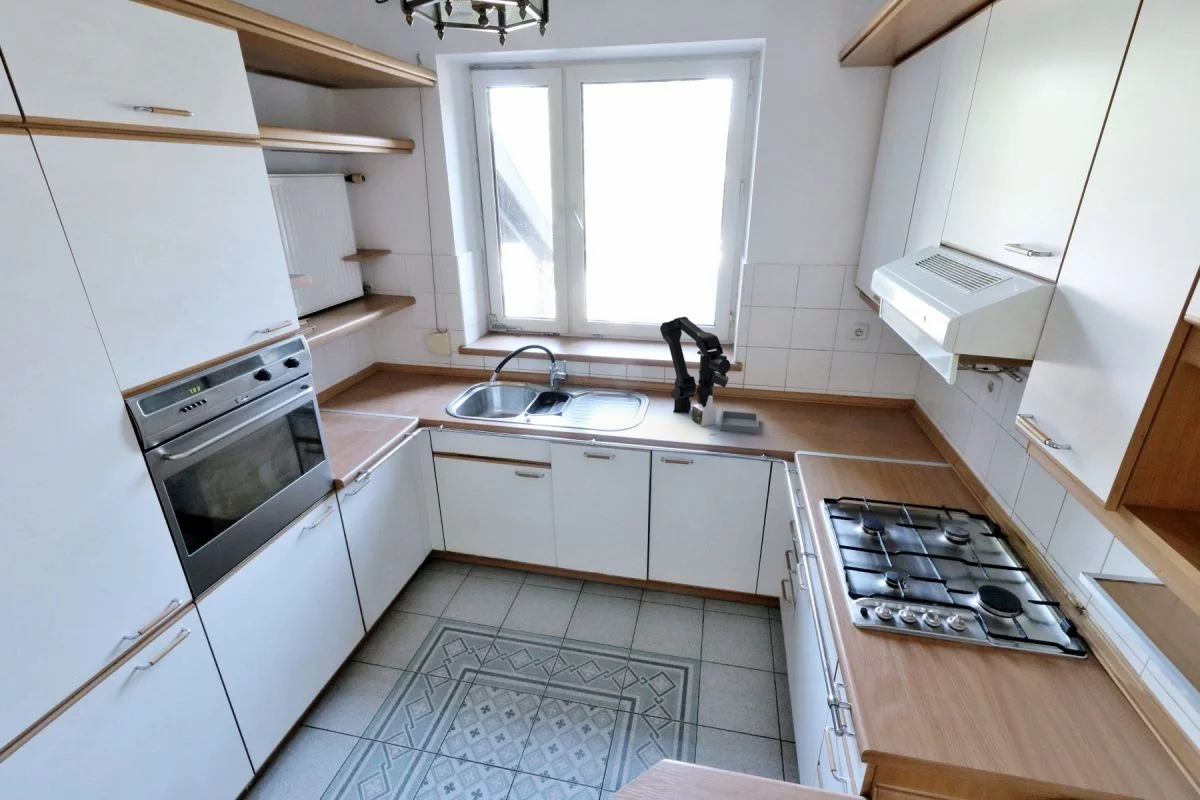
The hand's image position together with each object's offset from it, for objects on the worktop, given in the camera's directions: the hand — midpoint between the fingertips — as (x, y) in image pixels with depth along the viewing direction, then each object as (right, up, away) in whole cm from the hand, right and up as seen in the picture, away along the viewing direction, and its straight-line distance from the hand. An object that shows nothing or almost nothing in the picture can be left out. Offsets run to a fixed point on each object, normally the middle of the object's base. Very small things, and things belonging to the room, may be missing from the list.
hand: (704, 404), depth 226 cm
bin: (+14, -9, 0) cm, 16 cm away
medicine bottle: (0, -8, +3) cm, 8 cm away
